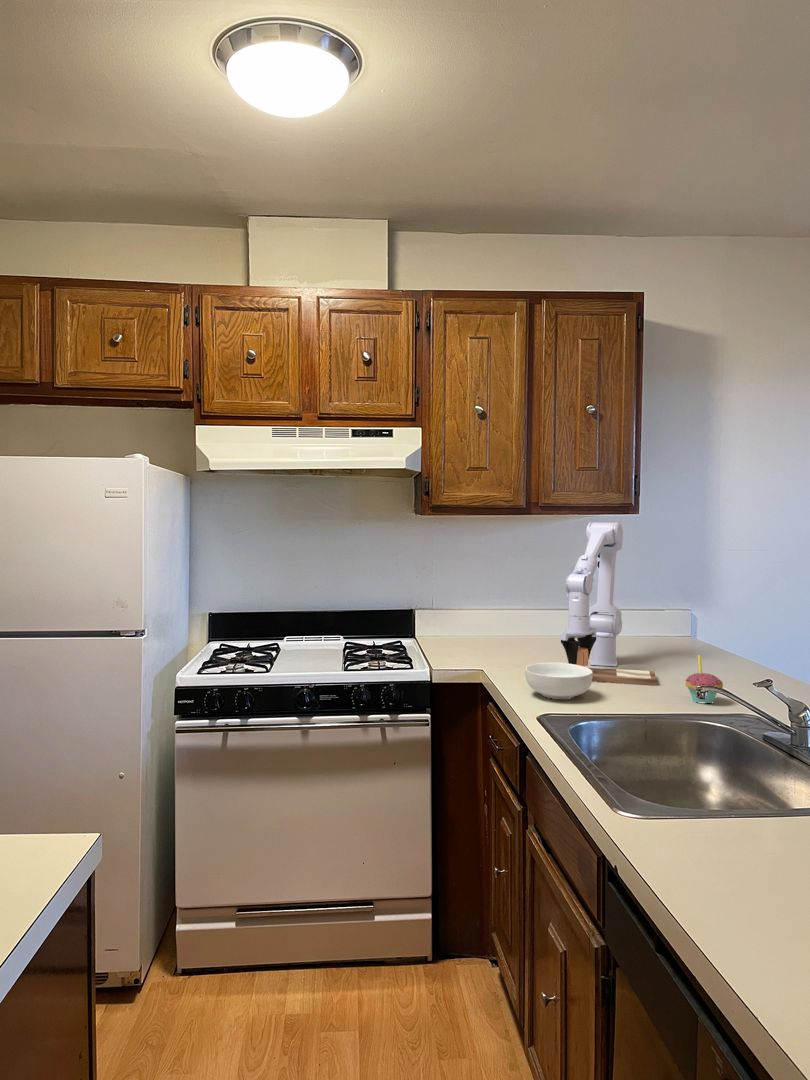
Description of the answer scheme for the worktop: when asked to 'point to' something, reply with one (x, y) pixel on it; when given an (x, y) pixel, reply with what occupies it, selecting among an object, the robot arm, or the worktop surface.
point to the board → (624, 676)
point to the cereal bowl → (558, 679)
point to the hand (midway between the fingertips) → (578, 662)
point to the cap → (582, 656)
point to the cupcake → (703, 684)
